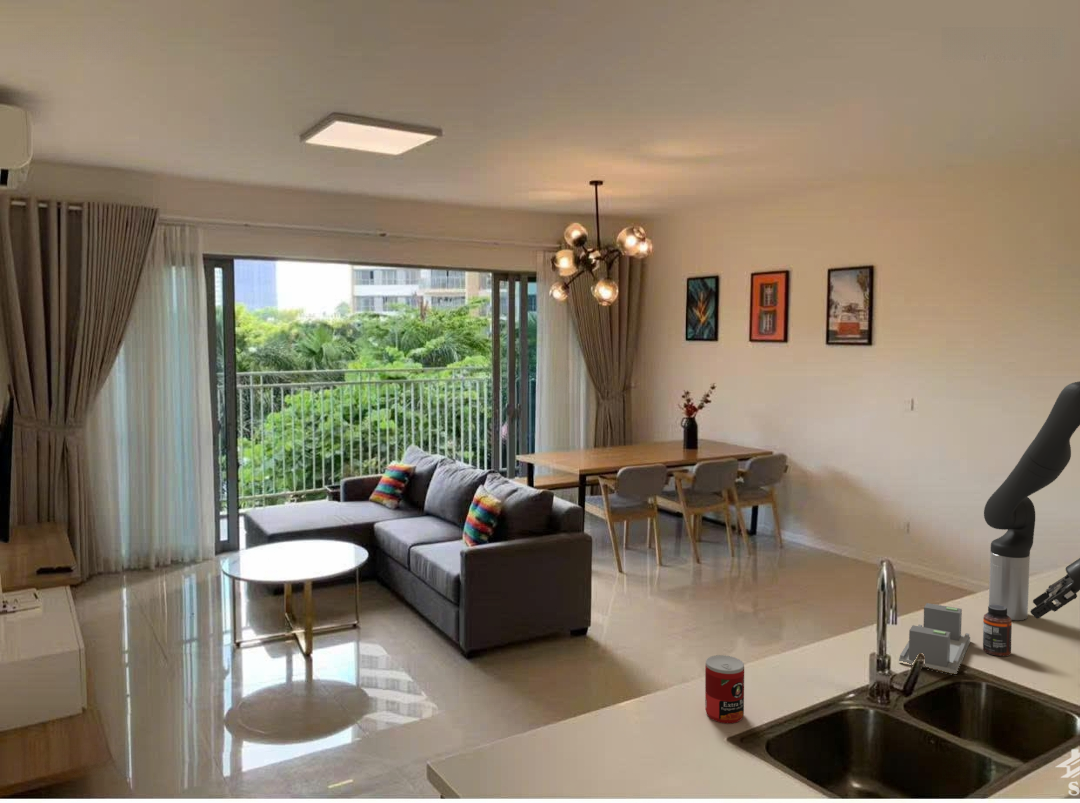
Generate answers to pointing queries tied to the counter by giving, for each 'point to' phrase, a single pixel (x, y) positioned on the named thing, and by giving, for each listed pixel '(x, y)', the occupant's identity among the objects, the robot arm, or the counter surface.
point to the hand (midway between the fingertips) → (1034, 609)
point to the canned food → (724, 688)
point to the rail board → (938, 639)
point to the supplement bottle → (997, 631)
